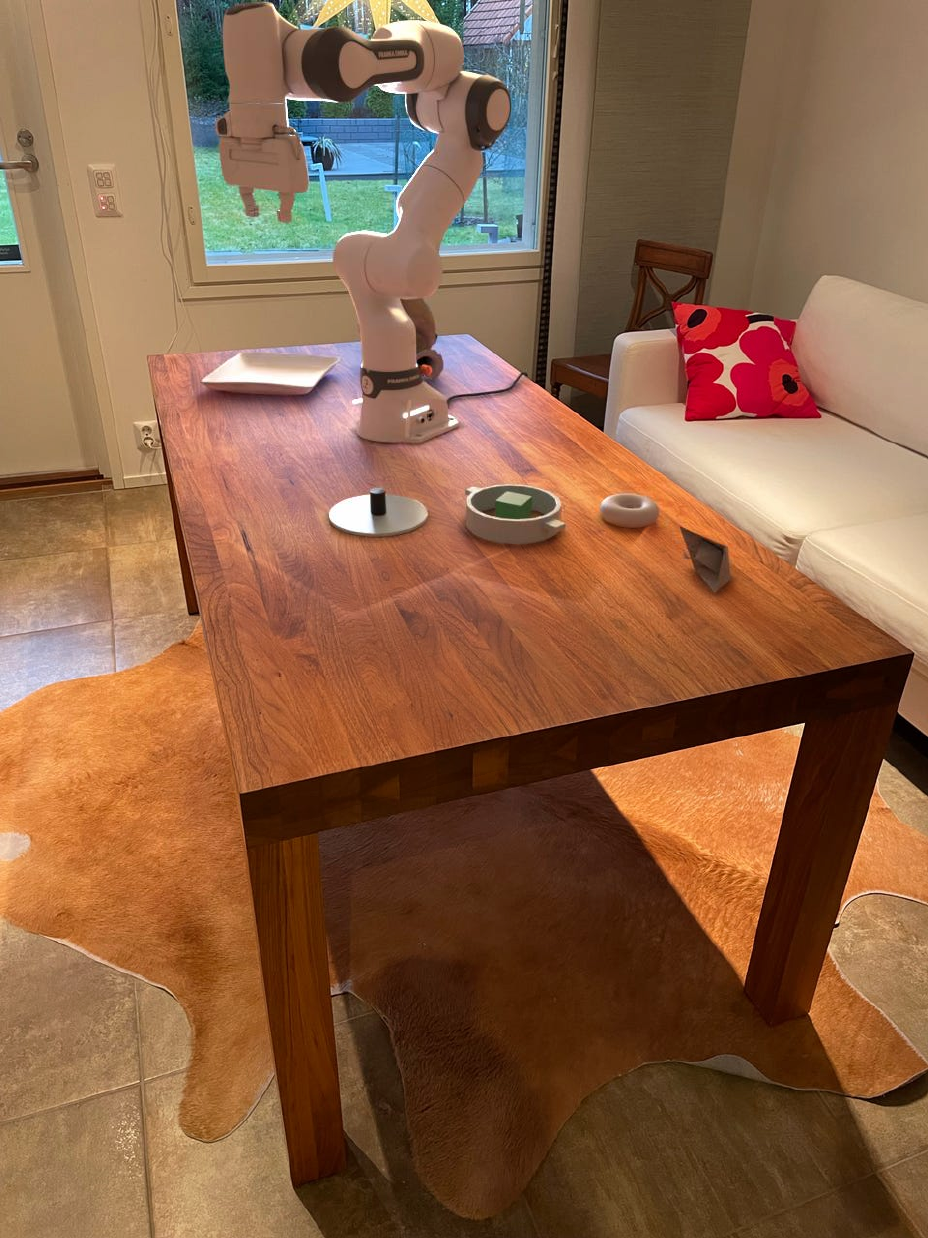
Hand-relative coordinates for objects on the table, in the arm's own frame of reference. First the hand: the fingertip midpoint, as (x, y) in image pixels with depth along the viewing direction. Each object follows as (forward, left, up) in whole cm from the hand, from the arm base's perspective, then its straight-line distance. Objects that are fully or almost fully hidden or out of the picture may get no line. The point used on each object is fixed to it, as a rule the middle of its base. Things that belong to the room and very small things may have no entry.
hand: (268, 219), depth 152 cm
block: (-14, +45, -44) cm, 65 cm away
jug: (-64, -43, -44) cm, 89 cm away
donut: (-31, +56, -44) cm, 78 cm away
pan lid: (+1, +28, -44) cm, 52 cm away
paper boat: (-23, +76, -44) cm, 91 cm away
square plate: (-31, -54, -44) cm, 76 cm away
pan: (-14, +45, -44) cm, 65 cm away
